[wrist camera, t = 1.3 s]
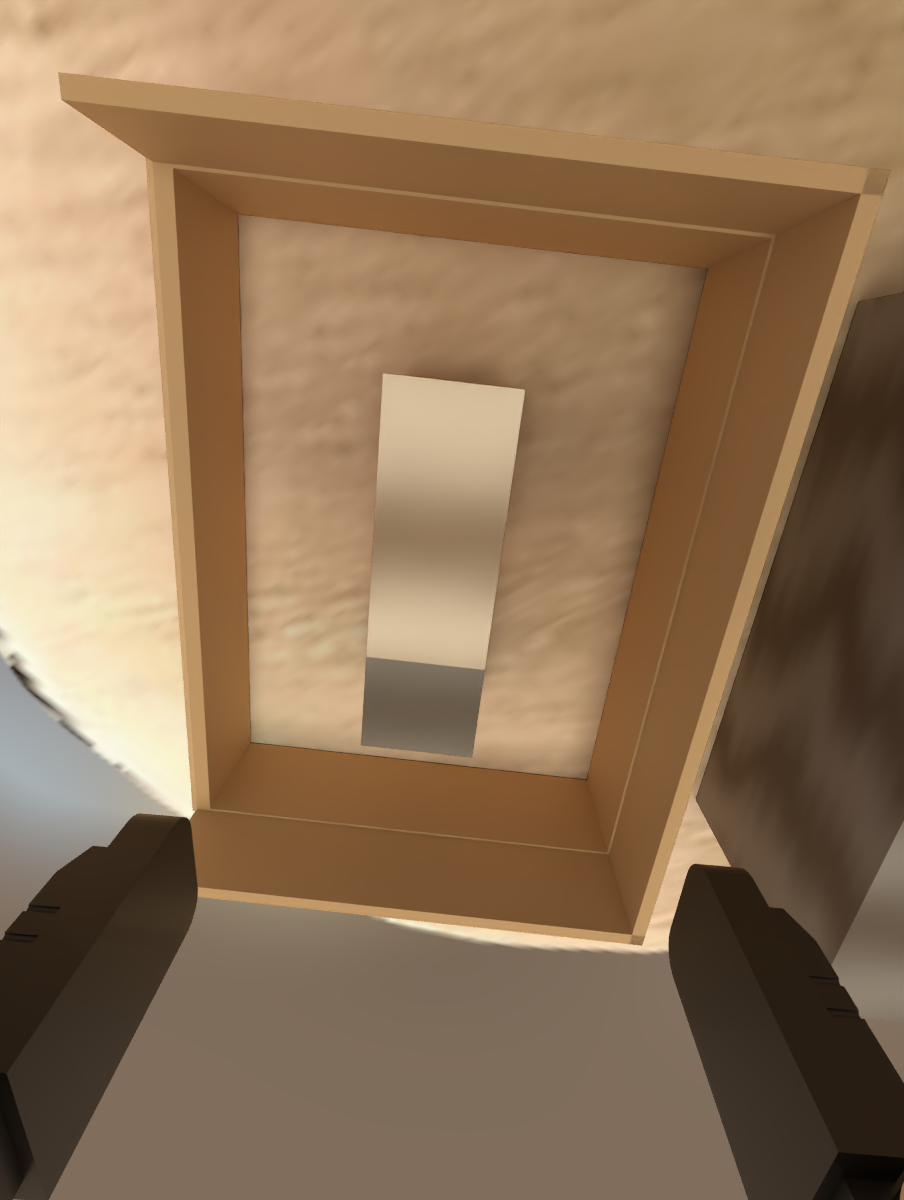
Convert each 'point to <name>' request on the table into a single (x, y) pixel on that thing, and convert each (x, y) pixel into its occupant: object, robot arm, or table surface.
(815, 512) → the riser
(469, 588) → the block
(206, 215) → the carton
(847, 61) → the table surface
